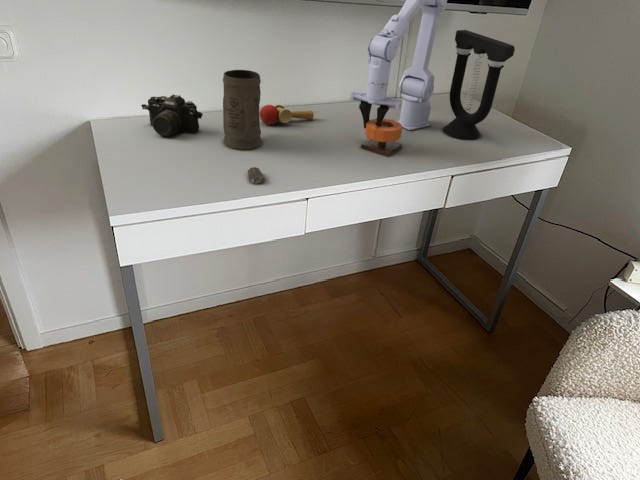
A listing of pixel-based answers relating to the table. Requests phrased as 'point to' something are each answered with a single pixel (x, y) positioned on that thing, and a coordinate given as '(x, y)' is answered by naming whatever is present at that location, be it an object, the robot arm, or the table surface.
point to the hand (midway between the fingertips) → (371, 128)
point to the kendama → (282, 114)
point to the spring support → (497, 56)
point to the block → (255, 175)
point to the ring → (383, 130)
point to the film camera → (172, 115)
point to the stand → (381, 146)
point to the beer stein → (241, 109)
